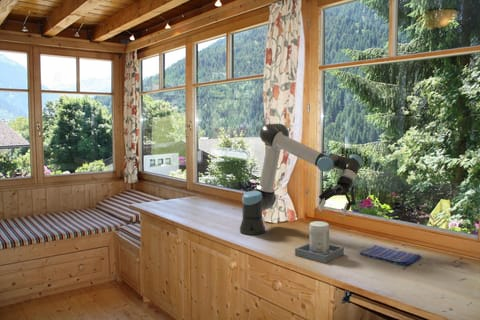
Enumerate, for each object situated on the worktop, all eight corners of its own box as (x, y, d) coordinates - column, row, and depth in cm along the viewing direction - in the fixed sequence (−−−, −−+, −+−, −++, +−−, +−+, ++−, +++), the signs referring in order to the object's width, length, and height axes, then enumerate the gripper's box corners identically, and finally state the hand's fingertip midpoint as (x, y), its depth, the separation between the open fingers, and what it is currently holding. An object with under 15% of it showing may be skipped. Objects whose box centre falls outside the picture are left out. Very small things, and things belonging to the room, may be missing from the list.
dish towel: (407, 268, 175) (407, 262, 175) (358, 255, 192) (358, 250, 192) (422, 258, 187) (422, 253, 186) (375, 247, 204) (375, 242, 203)
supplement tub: (320, 248, 199) (320, 220, 198) (333, 253, 191) (333, 224, 190) (305, 251, 195) (305, 222, 193) (318, 257, 186) (318, 227, 185)
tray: (295, 255, 192) (295, 248, 192) (314, 246, 205) (314, 240, 204) (325, 263, 181) (325, 256, 180) (343, 254, 193) (343, 247, 193)
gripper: (370, 186, 201) (356, 221, 192) (328, 181, 219) (312, 213, 209) (366, 177, 197) (351, 212, 188) (323, 173, 214) (307, 204, 205)
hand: (331, 212), depth 198 cm, fingers open, 13 cm apart
